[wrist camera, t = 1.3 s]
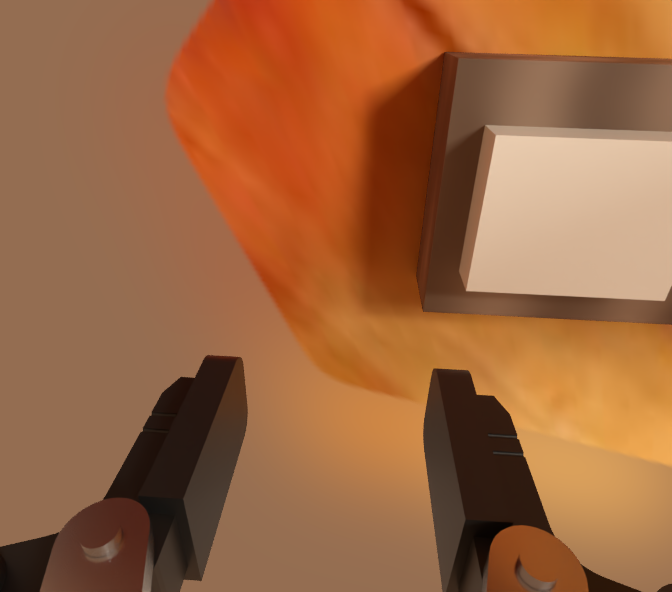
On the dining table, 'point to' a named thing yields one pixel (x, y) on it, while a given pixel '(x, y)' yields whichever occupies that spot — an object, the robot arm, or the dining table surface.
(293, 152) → the dining table surface
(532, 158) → the tile
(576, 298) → the block
